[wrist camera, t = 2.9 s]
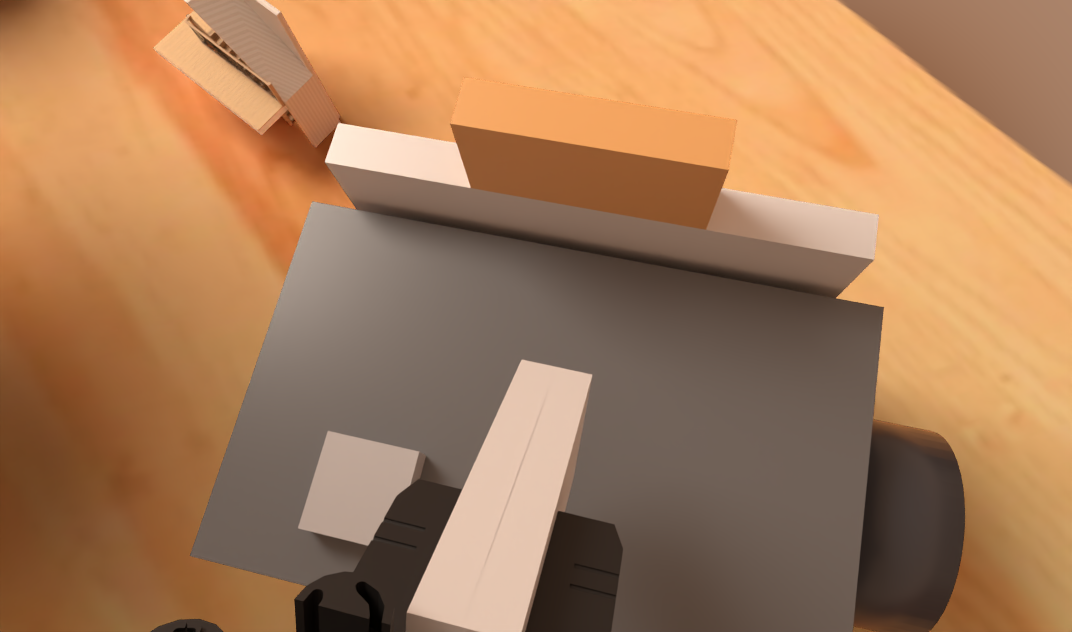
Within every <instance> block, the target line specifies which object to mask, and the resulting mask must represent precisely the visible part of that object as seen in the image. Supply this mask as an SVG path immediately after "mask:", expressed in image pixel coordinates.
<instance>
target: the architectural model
mask: <svg viewBox="0 0 1072 632" xmlns="http://www.w3.org/2000/svg"><path fill="white" fill-rule="evenodd" d="M184 1H185V2H186V3H187V4H188V5H189V6H190V7H191V8H192V9H193V10H194V11H193V12H192V13H191V14H190V15H189V14H188V15H186V18H185V19H184V20H183V21H182V22H181V23H180V24H179V25H177V26H176V27H175V28H174V29H173V30H172V31H171V32H170V33H169V34H168V35H167V36H165V37H164V38H163V39H162V40H161V41H160V42H159V43H158V44H157V45H156V46H155V47H153V48H154V49H155V51H156V52H157V53H158V54H159V55H161V56H162V57H163V58H164V59H166V60H167V61H168V62H169V63H171V64H172V65H173V66H175V67H176V68H177V69H178V70H180V71H181V72H182V73H183V74H185V75H186V76H187V77H188V78H190V79H191V80H192V81H194V82H195V83H196V84H197V85H199V86H200V87H201V88H202V89H204V90H205V91H206V92H207V93H209V94H210V95H211V96H213V97H214V98H215V99H216V100H218V101H219V102H220V103H221V104H223V105H224V106H225V107H226V108H228V109H229V110H230V111H232V112H233V113H234V114H235V115H237V116H238V117H239V118H240V119H242V120H243V121H244V122H245V123H247V124H248V125H249V126H251V127H252V128H253V129H254V130H256V131H257V132H258V133H259V134H261V135H263V134H264V133H265V132H266V131H267V130H268V129H269V128H270V127H271V126H272V125H273V124H274V123H275V122H276V121H277V120H278V119H279V118H280V117H282V118H283V119H284V120H285V121H287V122H288V124H289V125H290V126H292V125H293V123H292V121H293V120H294V119H295V121H296V122H297V124H298V125H299V126H300V128H301V129H302V131H303V132H304V134H305V135H306V137H307V138H308V140H309V141H310V143H311V144H312V145H313V146H314V147H315V148H316V147H317V146H318V145H319V144H320V143H321V142H322V141H323V140H324V139H325V138H326V137H327V136H328V135H329V134H330V133H331V132H332V131H333V130H334V129H335V128H336V127H337V125H338V123H341V122H340V121H339V118H340V115H339V113H338V111H337V110H336V108H335V106H334V104H333V103H332V101H331V99H330V97H329V96H328V94H327V92H326V90H325V89H324V87H323V85H322V83H321V82H320V80H319V78H318V76H317V75H316V73H315V71H314V69H313V68H312V66H311V64H310V62H309V61H308V59H307V57H306V55H305V54H304V52H303V50H302V48H301V47H300V45H299V43H298V41H297V40H296V38H295V36H294V34H293V33H292V31H291V29H290V27H289V25H288V24H287V22H286V20H285V18H284V17H283V15H282V13H281V12H280V11H279V10H278V9H276V8H275V7H273V6H272V5H271V4H269V3H268V2H267V1H265V0H184ZM214 50H215V51H216V52H215V51H214Z"/></svg>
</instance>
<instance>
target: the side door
mask: <svg viewBox="0 0 1072 632" xmlns="http://www.w3.org/2000/svg"><path fill="white" fill-rule="evenodd" d="M736 124H737V120H734V119H728V118H722V117H715V116H709V115H703V114H696V113H690V112H684V111H677V110H671V109H665V108H658V107H652V106H646V105H639V104H633V103H626V102H620V101H614V100H607V99H601V98H595V97H588V96H582V95H576V94H569V93H563V92H557V91H550V90H544V89H538V88H531V87H525V86H519V85H512V84H506V83H499V82H493V81H487V80H480V79H474V78H468V77H464V78H463V82H462V85H461V89H460V92H459V95H458V99H457V102H456V105H455V109H454V112H453V116H452V119H451V122H450V125H451V128H452V131H453V134H454V137H455V140H456V143H454V142H448V141H442V140H436V139H430V138H424V137H418V136H413V135H407V134H401V133H395V132H389V131H383V130H377V129H371V128H365V127H359V126H354V125H348V124H342V123H338V125H337V128H336V131H335V134H334V137H333V140H332V142H331V145H330V148H329V151H328V154H327V157H326V160H325V163H326V165H327V166H328V168H329V169H330V171H331V172H332V174H333V175H334V177H335V178H336V180H337V181H338V182H339V184H340V185H341V187H342V188H343V190H344V191H345V193H346V194H347V196H348V197H349V199H350V200H351V202H352V203H353V204H354V206H355V207H356V209H357V210H361V211H367V212H372V213H377V214H383V215H388V216H394V217H399V218H404V219H410V220H415V221H421V222H426V223H431V224H437V225H442V226H447V227H453V228H458V229H464V230H469V231H474V232H480V233H485V234H491V235H496V236H501V237H507V238H512V239H518V240H523V241H528V242H534V243H539V244H545V245H550V246H555V247H561V248H566V249H572V250H577V251H582V252H588V253H593V254H599V255H604V256H609V257H615V258H620V259H626V260H631V261H636V262H642V263H647V264H653V265H658V266H663V267H669V268H674V269H680V270H685V271H690V272H696V273H701V274H707V275H712V276H717V277H723V278H728V279H734V280H739V281H744V282H750V283H755V284H760V285H766V286H771V287H777V288H782V289H787V290H793V291H798V292H804V293H809V294H814V295H820V296H825V297H831V298H836V297H837V296H838V295H839V294H840V293H841V292H842V291H843V290H844V289H845V288H846V287H847V286H848V285H849V284H850V283H851V282H852V281H853V280H854V279H855V278H856V277H857V276H858V275H859V274H860V273H861V272H862V271H863V270H864V269H865V268H866V267H867V266H868V265H869V264H870V263H871V262H872V261H873V260H874V257H875V247H876V237H877V227H878V217H879V215H878V214H872V213H866V212H860V211H854V210H848V209H843V208H837V207H831V206H825V205H819V204H813V203H807V202H801V201H795V200H790V199H784V198H778V197H772V196H766V195H760V194H754V193H748V192H742V191H737V190H731V189H725V188H722V186H723V184H724V181H725V178H726V176H727V173H728V170H729V165H730V159H731V153H732V147H733V142H734V136H735V130H736Z"/></svg>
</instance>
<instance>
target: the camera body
mask: <svg viewBox="0 0 1072 632" xmlns="http://www.w3.org/2000/svg"><path fill="white" fill-rule="evenodd" d="M883 309H884V307H879V306H874V305H868V304H863V303H858V302H852V301H847V300H841V299H836V298H831V297H825V296H820V295H814V294H809V293H804V292H798V291H793V290H787V289H782V288H777V287H771V286H766V285H760V284H755V283H750V282H744V281H739V280H734V279H728V278H723V277H717V276H712V275H707V274H701V273H696V272H690V271H685V270H680V269H674V268H669V267H663V266H658V265H653V264H647V263H642V262H636V261H631V260H626V259H620V258H615V257H609V256H604V255H599V254H593V253H588V252H582V251H577V250H572V249H566V248H561V247H555V246H550V245H545V244H539V243H534V242H528V241H523V240H518V239H512V238H507V237H501V236H496V235H491V234H485V233H480V232H474V231H469V230H464V229H458V228H453V227H447V226H442V225H437V224H431V223H426V222H421V221H415V220H410V219H404V218H399V217H394V216H388V215H383V214H377V213H372V212H367V211H361V210H356V209H350V208H345V207H340V206H334V205H329V204H323V203H318V202H313V201H312V204H311V207H310V210H309V212H308V215H307V218H306V221H305V224H304V227H303V230H302V233H301V236H300V238H299V241H298V244H297V247H296V250H295V253H294V256H293V259H292V262H291V265H290V267H289V270H288V273H287V276H286V279H285V282H284V285H283V288H282V291H281V293H280V296H279V299H278V302H277V305H276V308H275V311H274V314H273V317H272V320H271V322H270V325H269V328H268V331H267V334H266V337H265V340H264V343H263V346H262V348H261V351H260V354H259V357H258V360H257V363H256V366H255V369H254V372H253V375H252V377H251V380H250V383H249V386H248V389H247V392H246V395H245V398H244V401H243V403H242V406H241V409H240V412H239V415H238V418H237V421H236V424H235V427H234V430H233V432H232V435H231V438H230V441H229V444H228V447H227V450H226V453H225V456H224V458H223V461H222V464H221V467H220V470H219V473H218V476H217V479H216V482H215V485H214V487H213V490H212V493H211V496H210V499H209V502H208V505H207V508H206V511H205V513H204V516H203V519H202V522H201V525H200V528H199V531H198V534H197V537H196V540H195V542H194V545H193V548H192V551H191V554H190V556H192V557H196V558H200V559H204V560H208V561H211V562H215V563H219V564H223V565H227V566H231V567H235V568H239V569H243V570H246V571H250V572H254V573H258V574H262V575H266V576H270V577H274V578H277V579H281V580H285V581H289V582H293V583H297V584H301V585H305V586H307V585H308V584H310V583H312V582H314V581H316V580H318V579H319V578H321V577H323V576H325V575H330V574H334V573H339V572H344V571H345V572H353V571H354V570H355V568H356V566H357V564H358V563H359V561H360V559H361V557H362V556H363V554H364V552H365V550H366V549H367V547H368V545H369V543H370V542H371V540H373V538H374V535H375V533H376V531H377V529H378V528H379V526H380V524H381V522H383V521H384V517H385V515H386V513H387V512H388V510H389V508H390V506H391V505H392V503H393V501H394V499H395V498H396V496H397V495H398V494H399V493H401V492H402V491H403V490H405V489H406V488H407V487H409V486H410V485H411V484H413V483H414V482H415V481H417V480H418V479H421V480H425V481H430V482H434V483H438V484H442V485H446V486H450V487H454V488H459V489H463V487H464V485H465V483H466V481H467V478H468V476H469V474H470V472H471V470H472V467H473V465H474V463H475V461H476V459H477V456H478V454H479V452H480V450H481V448H482V445H483V443H484V441H485V439H486V437H487V434H488V432H489V430H490V428H491V426H492V423H493V421H494V419H495V417H496V415H497V412H498V410H499V408H500V406H501V404H502V402H503V399H504V397H505V395H506V393H507V391H508V388H509V386H510V384H511V382H512V380H513V377H514V375H515V373H516V371H517V369H518V366H519V364H520V362H521V360H527V361H531V362H536V363H541V364H545V365H550V366H554V367H559V368H564V369H568V370H573V371H578V372H582V373H587V374H592V380H591V385H590V391H589V396H588V402H587V407H586V413H585V418H584V424H583V429H582V434H581V440H580V445H579V451H578V456H577V462H576V467H575V473H574V478H573V482H572V486H571V489H570V493H569V497H568V501H567V505H566V509H565V512H566V513H570V514H574V515H578V516H582V517H586V518H591V519H595V520H599V521H603V522H607V523H611V524H615V527H616V530H617V533H618V536H619V538H620V541H621V544H622V547H623V554H622V561H621V568H620V575H619V582H618V589H617V596H616V603H615V609H614V616H613V623H612V630H611V632H853V626H855V627H859V628H864V629H868V630H872V631H876V632H929V631H930V630H931V629H932V628H933V627H934V625H935V624H936V623H937V622H938V620H939V619H940V617H941V615H942V614H943V612H944V610H945V608H946V606H947V604H948V602H949V599H950V597H951V594H952V591H953V589H954V585H955V582H956V578H957V575H958V571H959V566H960V561H961V555H962V549H963V541H964V529H965V504H964V492H963V484H962V479H961V473H960V470H959V466H958V463H957V460H956V457H955V455H954V453H953V451H952V449H951V447H950V445H949V444H948V443H947V441H946V440H945V439H944V438H943V437H942V436H941V435H939V434H937V433H935V432H932V431H927V430H922V429H918V428H913V427H908V426H903V425H898V424H893V423H888V422H883V421H878V420H874V419H873V414H874V404H875V393H876V383H877V372H878V362H879V351H880V341H881V330H882V320H883Z"/></svg>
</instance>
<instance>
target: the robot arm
mask: <svg viewBox="0 0 1072 632" xmlns="http://www.w3.org/2000/svg"><path fill="white" fill-rule="evenodd" d="M591 380H592V374H587V373H582V372H578V371H573V370H568V369H564V368H559V367H554V366H550V365H545V364H541V363H536V362H531V361H527V360H521V362H520V364H519V366H518V369H517V371H516V373H515V375H514V377H513V380H512V382H511V384H510V386H509V388H508V391H507V393H506V395H505V397H504V399H503V402H502V404H501V406H500V408H499V410H498V412H497V415H496V417H495V419H494V421H493V423H492V426H491V428H490V430H489V432H488V434H487V437H486V439H485V441H484V443H483V445H482V448H481V450H480V452H479V454H478V456H477V459H476V461H475V463H474V465H473V467H472V470H471V472H470V474H469V476H468V478H467V481H466V483H465V485H464V487H463V489H459V488H454V487H450V486H446V485H442V484H438V483H434V482H430V481H425V480H421V479H418V480H417V481H415V482H414V483H413V484H411V485H410V486H409V487H407V488H406V489H405V490H403V491H402V492H401V493H399V494H398V495H397V496H396V498H395V499H394V501H393V503H392V505H391V506H390V508H389V510H388V512H387V513H386V515H385V517H384V521H383V522H381V524H380V526H379V528H378V529H377V531H376V533H375V535H374V538H373V540H371V542H370V543H369V545H368V547H367V549H366V550H365V552H364V554H363V556H362V557H361V559H360V561H359V563H358V564H357V566H356V568H355V570H354V571H353V572H345V571H344V572H339V573H334V574H330V575H325V576H323V577H321V578H319V579H318V580H316V581H314V582H312V583H310V584H308V585H307V586H306V587H305V588H304V589H303V590H302V591H301V592H300V594H299V595H298V596H297V597H296V598H295V599H294V600H295V616H296V632H611V630H612V623H613V616H614V609H615V603H616V596H617V589H618V582H619V575H620V568H621V561H622V554H623V547H622V544H621V541H620V538H619V536H618V533H617V530H616V527H615V524H611V523H607V522H603V521H599V520H595V519H591V518H586V517H582V516H578V515H574V514H570V513H566V512H565V509H566V505H567V501H568V497H569V493H570V489H571V486H572V482H573V478H574V473H575V467H576V462H577V456H578V451H579V445H580V440H581V434H582V429H583V424H584V418H585V413H586V407H587V402H588V396H589V391H590V385H591ZM151 632H223V631H222V630H221V629H220V628H219V627H218V626H217V625H216V624H213V623H210V622H207V621H204V620H201V619H186V620H177V621H174V622H171V623H168V624H165V625H162V626H159V627H157V628H155V629H154V630H152V631H151Z"/></svg>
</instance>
